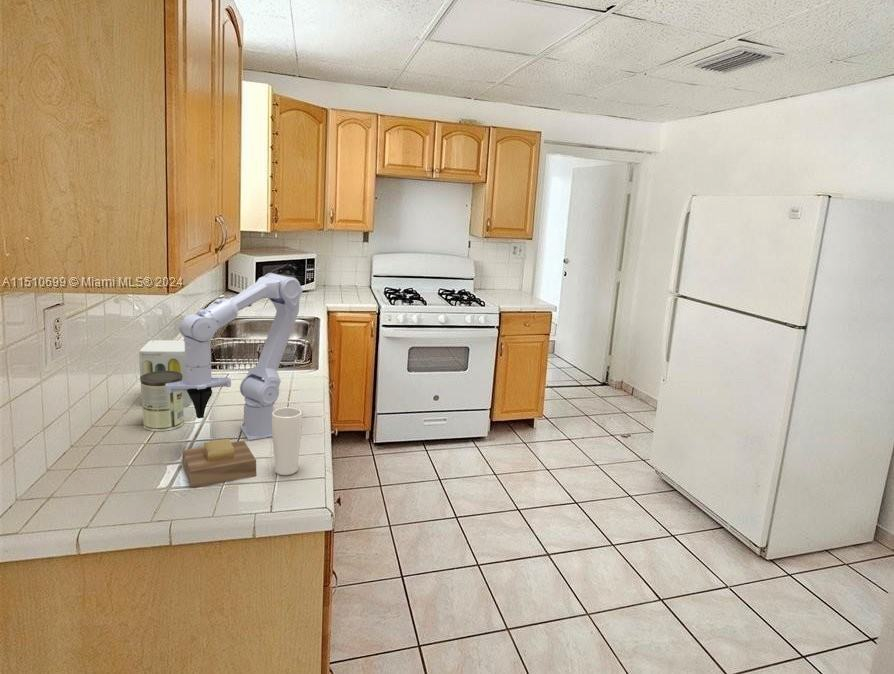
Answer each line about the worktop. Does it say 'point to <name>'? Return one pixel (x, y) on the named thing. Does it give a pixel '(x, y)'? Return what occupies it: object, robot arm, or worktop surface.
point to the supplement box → (164, 360)
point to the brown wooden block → (218, 466)
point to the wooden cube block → (218, 450)
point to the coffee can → (161, 401)
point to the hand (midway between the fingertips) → (200, 416)
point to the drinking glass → (286, 439)
